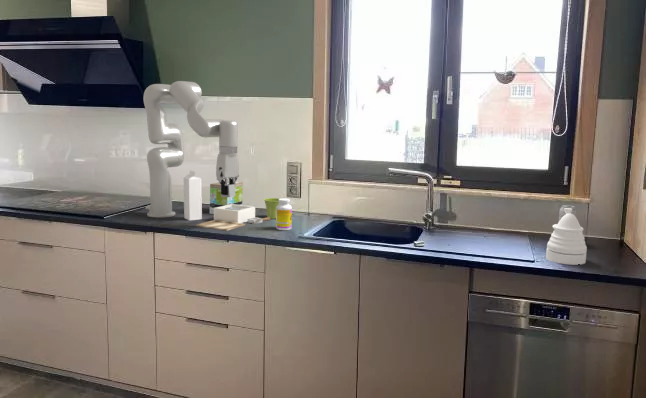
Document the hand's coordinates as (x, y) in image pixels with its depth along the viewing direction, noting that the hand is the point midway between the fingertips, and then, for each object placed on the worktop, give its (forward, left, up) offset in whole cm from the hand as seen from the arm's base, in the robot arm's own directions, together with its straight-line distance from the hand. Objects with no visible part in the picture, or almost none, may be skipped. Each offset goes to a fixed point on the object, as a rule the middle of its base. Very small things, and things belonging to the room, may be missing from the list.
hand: (227, 193), depth 229 cm
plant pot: (+4, +29, -15) cm, 33 cm away
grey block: (-9, +15, -14) cm, 23 cm away
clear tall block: (+128, +50, -15) cm, 139 cm away
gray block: (0, 0, -1) cm, 1 cm away
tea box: (-22, +27, -15) cm, 38 cm away
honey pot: (+130, +22, -15) cm, 133 cm away
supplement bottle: (+21, +10, -15) cm, 28 cm away
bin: (-7, +14, -15) cm, 21 cm away
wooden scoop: (+5, +16, -15) cm, 22 cm away
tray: (-4, 0, -15) cm, 15 cm away
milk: (-24, +5, -15) cm, 29 cm away
